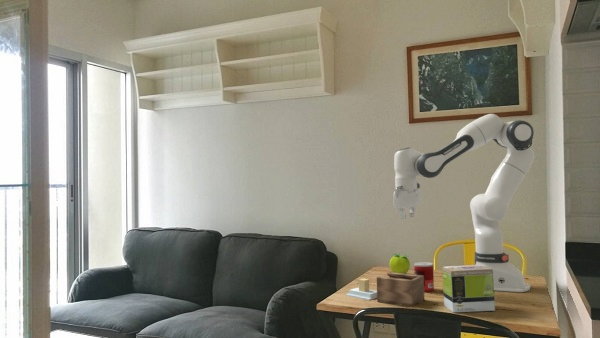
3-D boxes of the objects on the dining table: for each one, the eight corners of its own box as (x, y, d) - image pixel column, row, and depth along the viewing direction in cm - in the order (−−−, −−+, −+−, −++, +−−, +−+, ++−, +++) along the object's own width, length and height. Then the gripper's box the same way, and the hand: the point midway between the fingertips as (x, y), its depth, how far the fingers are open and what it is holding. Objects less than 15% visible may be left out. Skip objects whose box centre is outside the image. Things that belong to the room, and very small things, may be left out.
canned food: (434, 288, 206) (433, 262, 206) (433, 292, 198) (433, 265, 199) (415, 287, 208) (414, 261, 208) (414, 291, 200) (413, 265, 201)
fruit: (398, 272, 242) (397, 251, 242) (413, 274, 235) (412, 253, 235) (386, 274, 236) (385, 254, 236) (401, 277, 229) (400, 256, 229)
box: (424, 299, 188) (423, 275, 188) (411, 306, 178) (411, 281, 178) (391, 295, 196) (390, 272, 196) (377, 301, 186) (376, 277, 186)
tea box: (483, 304, 179) (482, 263, 179) (495, 311, 169) (494, 269, 169) (443, 305, 179) (441, 265, 179) (452, 313, 168) (451, 270, 169)
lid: (383, 297, 195) (382, 279, 195) (369, 301, 189) (368, 283, 189) (359, 292, 204) (359, 275, 204) (345, 296, 197) (345, 279, 198)
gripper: (402, 186, 199) (404, 220, 199) (421, 184, 216) (423, 215, 216) (388, 187, 203) (390, 220, 203) (408, 184, 220) (410, 215, 219)
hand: (407, 217), depth 209 cm, fingers open, 8 cm apart
